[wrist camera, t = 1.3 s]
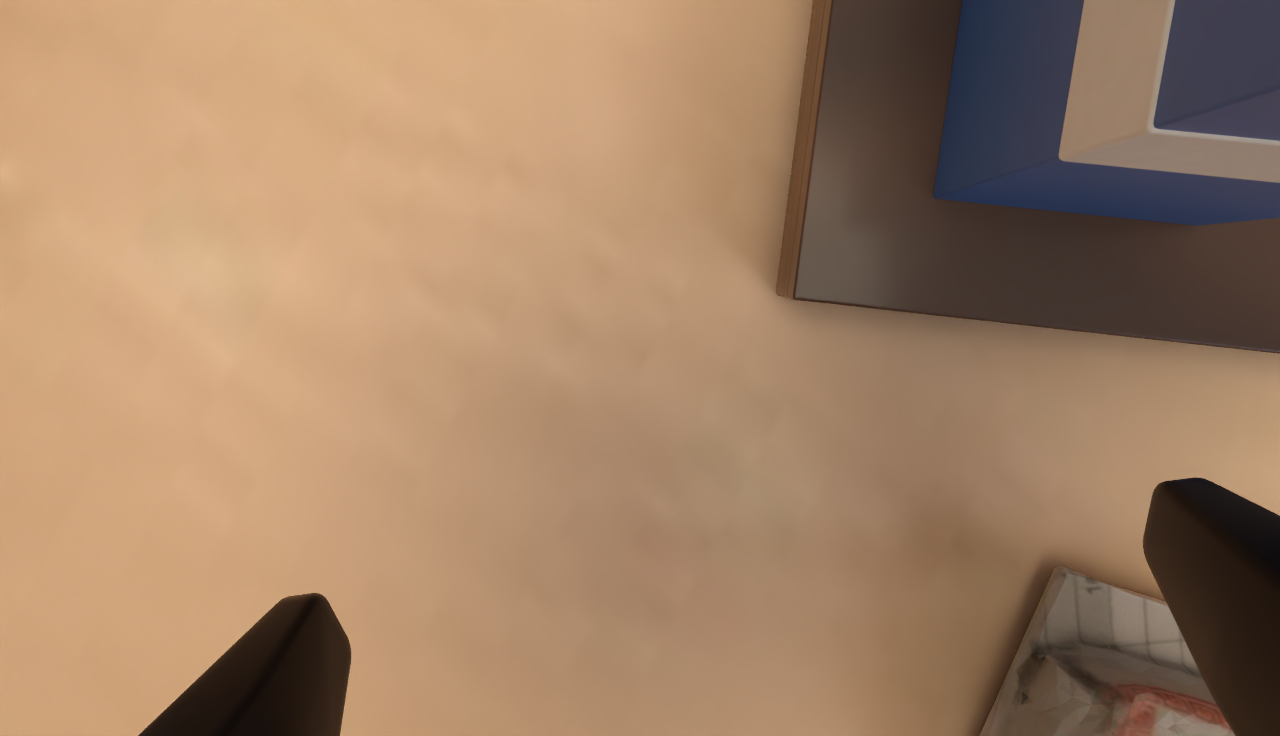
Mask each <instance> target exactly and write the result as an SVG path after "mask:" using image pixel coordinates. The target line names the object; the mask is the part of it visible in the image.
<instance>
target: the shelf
mask: <svg viewBox="0 0 1280 736" xmlns="http://www.w3.org/2000/svg"><path fill="white" fill-rule="evenodd" d="M961 7H962V0H813V7H812V15H811V23H810V31H809V38H808V46H807V54H806V62H805V70H804V77H803V85H802V93H801V101H800V108H799V116H798V124H797V132H796V140H795V147H794V155H793V163H792V171H791V178H790V186H789V194H788V202H787V210H786V217H785V225H784V233H783V241H782V248H781V256H780V264H779V272H778V280H777V287H776V294H777V295H779V296H783V297H787V298H790V299H794V300H802V301H811V302H820V303H829V304H838V305H847V306H856V307H865V308H874V309H883V310H892V311H901V312H910V313H919V314H928V315H937V316H946V317H955V318H964V319H973V320H982V321H991V322H1000V323H1009V324H1018V325H1027V326H1036V327H1045V328H1054V329H1063V330H1072V331H1081V332H1090V333H1099V334H1108V335H1117V336H1126V337H1135V338H1144V339H1153V340H1162V341H1171V342H1180V343H1189V344H1198V345H1207V346H1216V347H1225V348H1235V349H1244V350H1253V351H1262V352H1271V353H1280V218H1271V219H1261V220H1250V221H1240V222H1230V223H1219V224H1209V225H1199V226H1195V225H1185V224H1175V223H1166V222H1156V221H1146V220H1136V219H1127V218H1117V217H1107V216H1098V215H1088V214H1078V213H1069V212H1059V211H1049V210H1040V209H1030V208H1020V207H1011V206H1001V205H991V204H982V203H972V202H962V201H953V200H943V199H935V198H934V197H933V194H934V187H935V181H936V174H937V167H938V161H939V154H940V147H941V141H942V134H943V127H944V121H945V114H946V107H947V100H948V94H949V87H950V80H951V74H952V67H953V60H954V54H955V47H956V40H957V34H958V27H959V20H960V13H961Z"/></svg>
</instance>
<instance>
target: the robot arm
mask: <svg viewBox="0 0 1280 736" xmlns="http://www.w3.org/2000/svg"><path fill="white" fill-rule="evenodd" d="M1143 548H1144V554H1145V557H1146V560H1147V563H1148V565H1149V567H1150V569H1151V571H1152V573H1153V575H1154V577H1155V580H1156V582H1157V584H1158V586H1159V588H1160V590H1161V592H1162V594H1163V596H1164V598H1165V601H1166V603H1167V605H1168V607H1169V609H1170V611H1171V613H1172V615H1173V617H1174V619H1175V621H1176V624H1177V626H1178V628H1179V630H1180V632H1181V634H1182V636H1183V638H1184V640H1185V642H1186V645H1187V647H1188V649H1189V651H1190V653H1191V655H1192V657H1193V659H1194V661H1195V663H1196V665H1197V668H1198V670H1199V672H1200V674H1201V676H1202V678H1203V680H1204V682H1205V684H1206V686H1207V688H1208V689H1209V691H1210V693H1211V695H1212V697H1213V699H1214V701H1215V702H1216V704H1217V706H1218V708H1219V709H1220V711H1221V713H1222V714H1223V716H1224V718H1225V720H1226V721H1227V723H1228V724H1229V726H1230V728H1231V729H1232V731H1233V733H1234V734H1235V736H1280V516H1279V515H1277V514H1275V513H1273V512H1271V511H1269V510H1267V509H1265V508H1263V507H1261V506H1259V505H1257V504H1255V503H1253V502H1251V501H1249V500H1247V499H1245V498H1243V497H1241V496H1239V495H1237V494H1235V493H1233V492H1231V491H1229V490H1227V489H1225V488H1223V487H1221V486H1219V485H1217V484H1215V483H1213V482H1211V481H1209V480H1206V479H1203V478H1188V479H1180V480H1172V481H1165V482H1162V483H1160V484H1158V485H1157V487H1156V488H1155V489H1154V492H1153V495H1152V499H1151V504H1150V509H1149V513H1148V518H1147V523H1146V528H1145V532H1144V538H1143ZM350 664H351V648H350V643H349V640H348V637H347V635H346V634H345V632H344V630H343V628H342V626H341V624H340V623H339V621H338V619H337V617H336V615H335V613H334V611H333V610H332V608H331V606H330V604H329V602H328V601H327V599H326V598H325V597H324V596H323V595H321V594H318V593H311V594H303V595H295V596H289V597H286V598H284V599H282V600H281V601H279V602H278V603H277V604H276V605H275V606H274V607H273V608H272V609H271V610H270V611H268V612H267V613H266V614H265V615H264V616H263V617H262V618H261V619H260V620H259V621H258V622H257V623H256V624H255V625H254V626H253V627H252V628H251V629H250V630H249V631H248V632H246V633H245V634H244V635H243V636H242V637H241V638H240V639H239V640H238V641H237V642H236V643H235V644H234V645H233V646H232V647H231V648H230V649H229V650H228V651H227V652H225V653H224V654H223V655H222V656H221V657H220V658H219V659H218V660H217V661H216V662H215V663H214V664H213V665H212V666H211V667H210V668H209V669H208V670H207V671H206V672H205V673H203V674H202V675H201V676H200V677H199V678H198V679H197V680H196V681H195V682H194V683H193V684H192V685H191V686H190V687H189V688H188V689H187V690H186V691H185V692H184V693H182V694H181V695H180V696H179V697H178V698H177V699H176V700H175V701H174V702H173V703H172V704H171V705H170V706H169V707H168V708H167V709H166V710H165V711H164V712H163V713H161V714H160V715H159V716H158V717H157V718H156V719H155V720H154V721H153V722H152V723H151V724H150V725H149V726H148V727H147V728H146V729H145V730H144V731H143V732H142V733H141V734H139V735H138V736H340V731H341V724H342V718H343V711H344V704H345V697H346V691H347V684H348V677H349V671H350Z"/></svg>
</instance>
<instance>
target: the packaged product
mask: <svg viewBox="0 0 1280 736" xmlns="http://www.w3.org/2000/svg"><path fill="white" fill-rule="evenodd" d="M980 736H1235V734H1234V733H1233V731H1232V729H1231V728H1230V726H1229V724H1228V723H1227V721H1226V720H1225V718H1224V716H1223V714H1222V713H1221V711H1220V709H1219V708H1218V706H1217V704H1216V702H1215V701H1214V699H1213V697H1212V695H1211V693H1210V691H1209V689H1208V688H1207V686H1206V684H1205V682H1204V680H1203V678H1202V676H1201V674H1200V672H1199V670H1198V668H1197V665H1196V663H1195V661H1194V659H1193V657H1192V655H1191V653H1190V651H1189V649H1188V647H1187V645H1186V642H1185V640H1184V638H1183V636H1182V634H1181V632H1180V630H1179V628H1178V626H1177V624H1176V621H1175V619H1174V617H1173V615H1172V613H1171V611H1170V609H1169V607H1168V605H1167V603H1166V601H1163V600H1159V599H1156V598H1153V597H1150V596H1146V595H1143V594H1140V593H1137V592H1133V591H1130V590H1127V589H1123V588H1120V587H1117V586H1114V585H1110V584H1107V583H1104V582H1101V581H1098V580H1096V579H1093V578H1091V577H1088V576H1086V575H1084V574H1081V573H1079V572H1076V571H1074V570H1072V569H1069V568H1067V567H1065V566H1059V567H1055V568H1054V571H1053V573H1052V575H1051V577H1050V580H1049V582H1048V584H1047V586H1046V588H1045V591H1044V593H1043V595H1042V597H1041V600H1040V602H1039V604H1038V606H1037V609H1036V611H1035V613H1034V615H1033V617H1032V620H1031V622H1030V624H1029V626H1028V629H1027V631H1026V633H1025V635H1024V637H1023V640H1022V642H1021V644H1020V646H1019V649H1018V651H1017V653H1016V655H1015V658H1014V660H1013V662H1012V664H1011V666H1010V669H1009V671H1008V673H1007V675H1006V678H1005V680H1004V682H1003V684H1002V686H1001V689H1000V691H999V693H998V695H997V698H996V700H995V702H994V704H993V707H992V709H991V711H990V713H989V715H988V718H987V720H986V722H985V724H984V727H983V729H982V731H981V733H980Z"/></svg>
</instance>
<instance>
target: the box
mask: <svg viewBox="0 0 1280 736" xmlns="http://www.w3.org/2000/svg"><path fill="white" fill-rule="evenodd" d="M933 197H934V198H935V199H943V200H953V201H962V202H972V203H982V204H991V205H1001V206H1011V207H1020V208H1030V209H1040V210H1049V211H1059V212H1069V213H1078V214H1088V215H1098V216H1107V217H1117V218H1127V219H1136V220H1146V221H1156V222H1166V223H1175V224H1185V225H1195V226H1199V225H1209V224H1219V223H1230V222H1240V221H1250V220H1261V219H1271V218H1280V0H962V7H961V13H960V20H959V27H958V34H957V40H956V47H955V54H954V60H953V67H952V74H951V80H950V87H949V94H948V100H947V107H946V114H945V121H944V127H943V134H942V141H941V147H940V154H939V161H938V167H937V174H936V181H935V187H934V194H933Z"/></svg>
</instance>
